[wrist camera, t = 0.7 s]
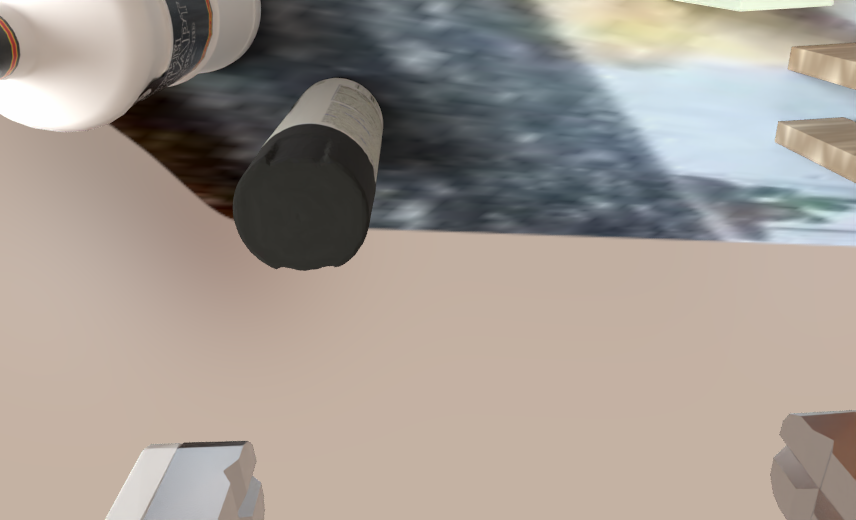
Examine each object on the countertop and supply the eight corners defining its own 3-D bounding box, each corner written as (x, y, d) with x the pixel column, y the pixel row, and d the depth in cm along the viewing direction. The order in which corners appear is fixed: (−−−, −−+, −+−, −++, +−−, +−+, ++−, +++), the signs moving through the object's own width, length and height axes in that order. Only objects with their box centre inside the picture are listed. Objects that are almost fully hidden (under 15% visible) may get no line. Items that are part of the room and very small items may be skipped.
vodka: (218, -101, 42) (-136, -204, 15) (288, 35, 46) (107, 152, 18) (100, -38, 43) (-421, -27, 16) (177, 89, 47) (-142, 271, 20)
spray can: (292, 75, 47) (217, 150, 29) (384, 75, 47) (368, 149, 29) (299, 163, 50) (235, 281, 32) (386, 163, 50) (373, 281, 32)
